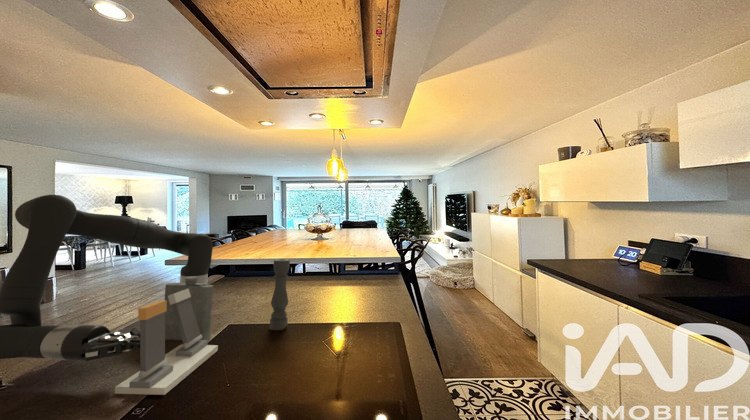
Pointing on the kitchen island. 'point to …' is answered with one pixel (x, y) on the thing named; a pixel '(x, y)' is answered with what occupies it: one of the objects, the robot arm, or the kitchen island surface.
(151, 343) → the orange lever
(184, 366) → the switch panel
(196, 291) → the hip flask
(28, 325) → the robot arm
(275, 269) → the candle holder
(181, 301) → the grey lever
